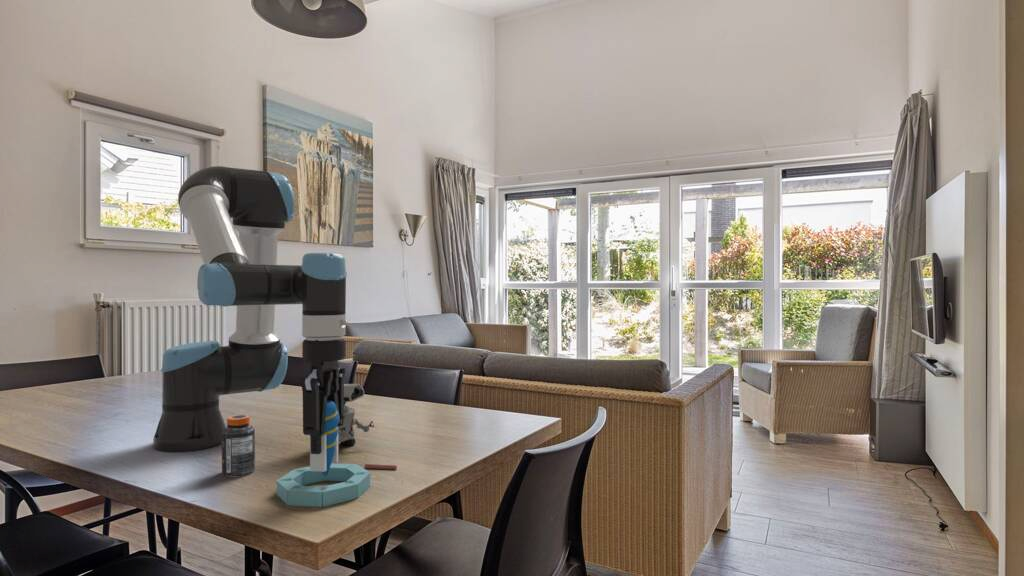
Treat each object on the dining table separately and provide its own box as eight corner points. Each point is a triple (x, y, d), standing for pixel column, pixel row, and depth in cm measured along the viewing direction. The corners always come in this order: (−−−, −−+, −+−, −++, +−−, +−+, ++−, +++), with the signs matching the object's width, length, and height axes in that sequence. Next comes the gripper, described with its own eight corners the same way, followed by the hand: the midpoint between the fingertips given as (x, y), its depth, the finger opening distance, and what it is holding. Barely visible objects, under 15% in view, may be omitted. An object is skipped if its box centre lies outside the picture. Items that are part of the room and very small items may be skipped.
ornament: (322, 482, 101) (322, 397, 101) (303, 476, 104) (302, 394, 104) (345, 473, 106) (345, 392, 105) (326, 468, 108) (326, 389, 108)
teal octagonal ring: (263, 504, 98) (263, 489, 98) (304, 474, 113) (304, 462, 113) (347, 508, 97) (347, 493, 97) (378, 478, 111) (378, 465, 111)
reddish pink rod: (363, 468, 117) (363, 464, 117) (365, 467, 118) (365, 463, 118) (396, 469, 116) (396, 465, 116) (397, 468, 117) (397, 464, 117)
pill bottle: (229, 468, 117) (229, 413, 117) (259, 467, 117) (259, 412, 117) (216, 478, 111) (216, 420, 111) (248, 477, 111) (248, 419, 111)
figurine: (343, 459, 124) (343, 389, 123) (307, 450, 129) (307, 384, 129) (374, 448, 131) (374, 382, 131) (338, 441, 137) (338, 378, 137)
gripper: (322, 343, 96) (323, 483, 96) (362, 334, 113) (362, 453, 113) (280, 342, 96) (280, 481, 97) (325, 333, 114) (325, 451, 114)
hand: (324, 466), depth 105 cm, fingers closed on ornament, 4 cm apart
